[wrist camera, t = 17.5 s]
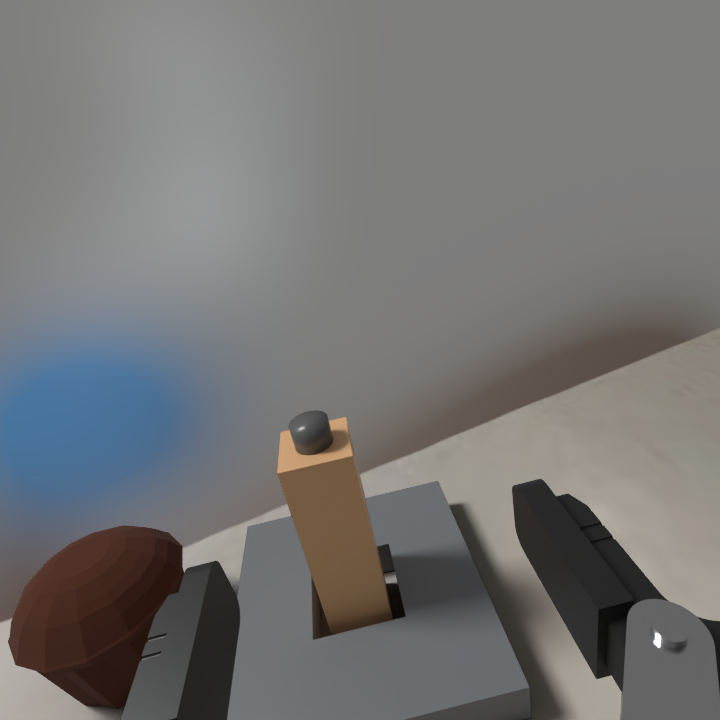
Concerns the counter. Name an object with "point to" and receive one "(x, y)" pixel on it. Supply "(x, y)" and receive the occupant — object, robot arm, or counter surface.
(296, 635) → the socket
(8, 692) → the counter surface
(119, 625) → the muffin
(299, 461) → the plug
